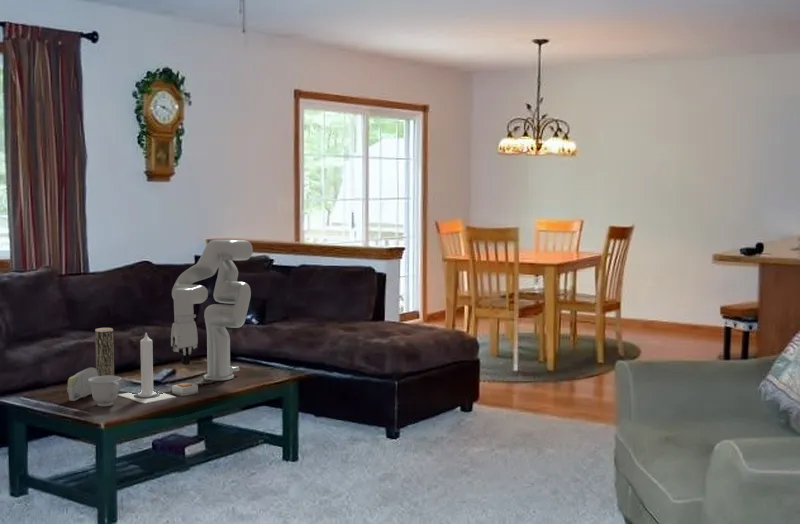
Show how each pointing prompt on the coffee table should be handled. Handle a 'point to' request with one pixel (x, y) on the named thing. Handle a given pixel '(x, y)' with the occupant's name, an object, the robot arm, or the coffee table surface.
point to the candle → (146, 368)
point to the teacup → (105, 389)
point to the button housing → (185, 390)
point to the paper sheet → (146, 399)
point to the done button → (184, 385)
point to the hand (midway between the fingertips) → (185, 364)
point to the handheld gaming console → (80, 384)
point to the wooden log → (104, 351)
